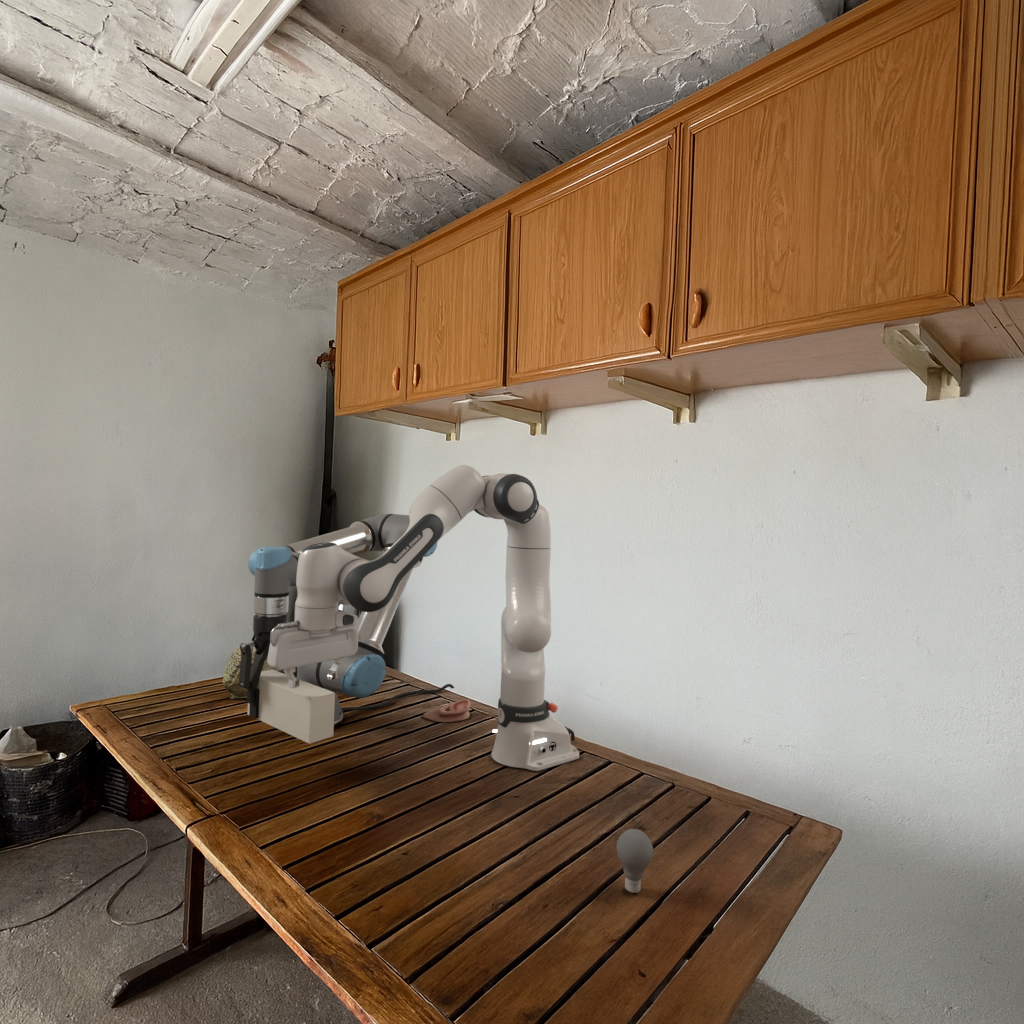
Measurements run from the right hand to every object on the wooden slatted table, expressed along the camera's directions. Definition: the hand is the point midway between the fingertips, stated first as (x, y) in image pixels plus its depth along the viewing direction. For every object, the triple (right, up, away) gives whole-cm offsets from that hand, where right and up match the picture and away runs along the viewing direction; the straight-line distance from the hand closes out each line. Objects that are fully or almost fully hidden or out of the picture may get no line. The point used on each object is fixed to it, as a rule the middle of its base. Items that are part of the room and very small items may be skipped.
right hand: (313, 683), depth 135 cm
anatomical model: (+23, -24, +51) cm, 61 cm away
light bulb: (+63, -27, -30) cm, 74 cm away
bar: (-7, -11, +6) cm, 14 cm away
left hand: (-14, -10, +11) cm, 21 cm away
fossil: (-38, -21, +63) cm, 76 cm away
